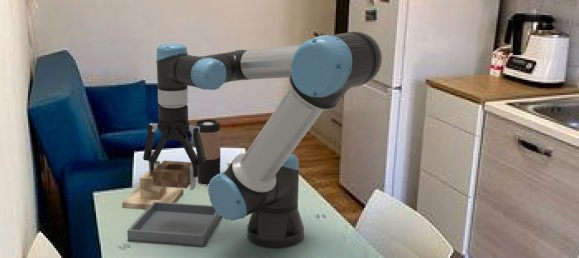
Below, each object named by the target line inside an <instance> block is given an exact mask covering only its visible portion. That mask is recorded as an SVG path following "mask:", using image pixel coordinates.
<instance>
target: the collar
mask: <svg viewBox="0 0 579 258" xmlns="http://www.w3.org/2000/svg"><path fill="white" fill-rule="evenodd" d="M191 164H192V163H191V161H180V160H179V161H175V160H162V161H161V162H160V165H159V166H158V167H157V168H156V169H154V170H153V186H161V187H166V188H176V189H188V187H190V166H191Z"/></svg>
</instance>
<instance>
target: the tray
mask: <svg viewBox="0 0 579 258" xmlns="http://www.w3.org/2000/svg"><path fill="white" fill-rule="evenodd" d="M221 219H222V217H221V216H220V215H219V214H218V213H217V212H216V211H215V209H214V208H213V206H212V205H209V204H206V205H205V204H193V203H181V202H179V203H177V202H176V203H167V202H153V203H152V204H151V205H150V206H149V207H148V209H145V210H144V212H142V214H140V216H139V217H138V218H137V219H136V220H135V221H134V222H133V223H132V225H131V226H129V228H128V229H127V231H126V232H127V233H126V234H127V242H135V243H148V244H159V245H161V244H162V245H171V246H173V245H174V246H183V247H185V246H187V247H196V248H197V247H199V248H204V246H205V245H206V243H207V241H208V240H209V238H210V237H211V236H212V233H213V232H214V230H215V229H216V227H217V225H218V224H219V222H220V220H221Z"/></svg>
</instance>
